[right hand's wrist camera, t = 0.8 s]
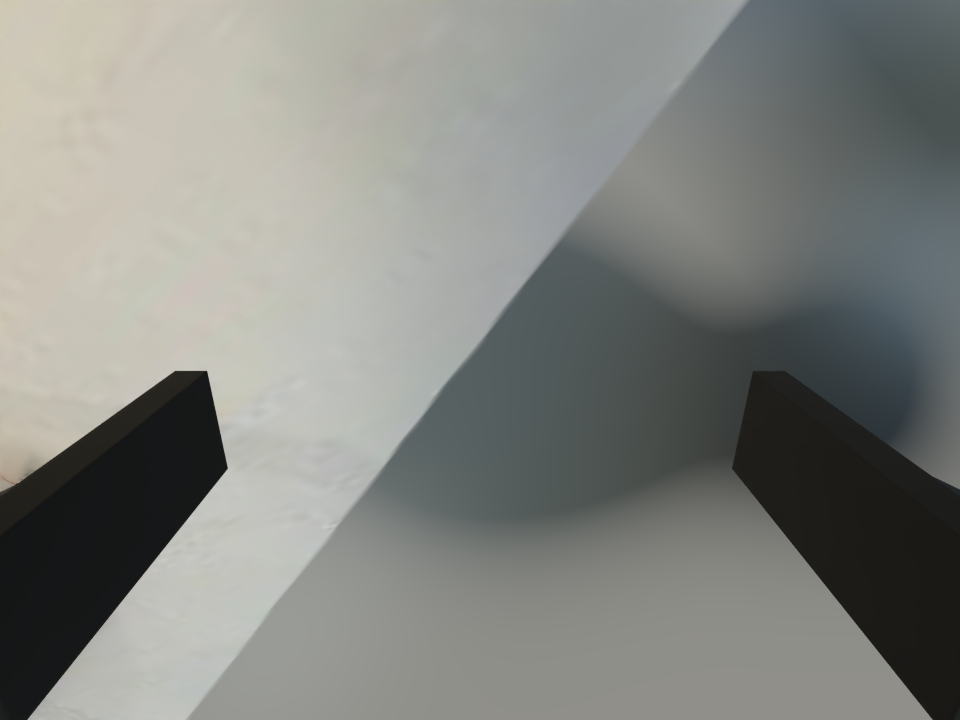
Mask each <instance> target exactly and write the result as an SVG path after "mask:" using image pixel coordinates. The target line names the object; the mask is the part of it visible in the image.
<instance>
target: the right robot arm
mask: <svg viewBox="0 0 960 720" xmlns="http://www.w3.org/2000/svg"><path fill="white" fill-rule="evenodd" d="M227 469H228V467H227V462H226V458H225V453H224V448H223V444H222V439H221V434H220V430H219V425H218V420H217V415H216V411H215V406H214V401H213V397H212V392H211V387H210V382H209V378H208V373H207V371H175V372H173V373H172V374H170V375H169V376H168V377H166V378H165V379H163V380H162V381H161V382H159V383H158V384H156V385H155V386H154V387H152V388H151V389H149V390H148V391H147V392H145V393H144V394H142V395H141V396H140V397H138V398H137V399H135V400H134V401H133V402H131V403H130V404H128V405H127V406H126V407H124V408H123V409H121V410H120V411H119V412H117V413H116V414H114V415H113V416H112V417H110V418H109V419H107V420H106V421H105V422H103V423H102V424H101V425H99V426H98V427H96V428H95V429H94V430H92V431H91V432H89V433H88V434H87V435H85V436H84V437H82V438H81V439H80V440H78V441H77V442H75V443H74V444H73V445H71V446H70V447H68V448H67V449H66V450H64V451H63V452H61V453H60V454H59V455H57V456H56V457H54V458H53V459H52V460H50V461H49V462H47V463H46V464H45V465H43V466H42V467H40V468H39V469H38V470H36V471H35V472H33V473H32V474H31V475H29V476H28V477H26V478H25V479H24V480H22V481H21V482H19V483H18V484H16V485H14V486H11V487H9V488H7V489H5V490H3V491H1V492H0V720H27V719H28V718H29V717H30V716H31V714H32V713H33V712H34V711H35V709H36V708H37V707H38V706H39V704H40V703H41V702H42V701H43V699H44V698H45V697H46V696H47V694H48V693H49V692H50V691H51V689H52V688H53V687H54V686H55V684H56V683H57V682H58V681H59V679H60V678H61V677H62V675H63V674H64V673H65V672H66V670H67V669H68V668H69V667H70V665H71V664H72V663H73V662H74V660H75V659H76V658H77V657H78V655H79V654H80V653H81V652H82V650H83V649H84V648H85V647H86V645H87V644H88V643H89V642H90V640H91V639H92V638H93V637H94V635H95V634H96V633H97V632H98V630H99V629H100V628H101V627H102V625H103V624H104V623H105V622H106V620H107V619H108V618H109V617H110V615H111V614H112V613H113V612H114V610H115V609H116V608H117V607H118V605H119V604H120V603H121V602H122V600H123V599H124V598H125V597H126V595H127V594H128V593H129V592H130V590H131V589H132V588H133V587H134V585H135V584H136V583H137V582H138V580H139V579H140V578H141V577H142V575H143V574H144V573H145V572H146V570H147V569H148V568H149V567H150V565H151V564H152V563H153V562H154V560H155V559H156V558H157V557H158V555H159V554H160V553H161V552H162V550H163V549H164V548H165V547H166V545H167V544H168V543H169V542H170V540H171V539H172V538H173V537H174V535H175V534H176V533H177V532H178V530H179V529H180V528H181V527H182V525H183V524H184V523H185V522H186V520H187V519H188V518H189V517H190V515H191V514H192V513H193V512H194V510H195V509H196V508H197V506H198V505H199V504H200V503H201V501H202V500H203V499H204V498H205V496H206V495H207V494H208V493H209V491H210V490H211V489H212V488H213V486H214V485H215V484H216V483H217V481H218V480H219V479H220V478H221V476H222V475H223V474H224V473H225V471H226V470H227ZM732 469H733V470H734V471H735V473H736V474H737V475H738V476H739V478H740V479H741V480H742V481H743V483H744V484H745V485H746V486H747V488H748V489H749V490H750V491H751V493H752V494H753V495H754V496H755V498H756V499H757V500H758V501H759V503H760V504H761V505H762V506H763V508H764V509H765V510H766V511H767V513H768V514H769V515H770V516H771V518H772V519H773V520H774V522H775V523H776V524H777V525H778V527H779V528H780V529H781V530H782V532H783V533H784V534H785V535H786V537H787V538H788V539H789V540H790V542H791V543H792V544H793V545H794V547H795V548H796V549H797V550H798V552H799V553H800V554H801V555H802V557H803V558H804V559H805V560H806V562H807V563H808V564H809V565H810V567H811V568H812V569H813V570H814V572H815V573H816V574H817V575H818V577H819V578H820V579H821V580H822V582H823V583H824V584H825V585H826V587H827V588H828V589H829V590H830V592H831V593H832V594H833V595H834V597H835V598H836V599H837V600H838V602H839V603H840V604H841V605H842V607H843V608H844V609H845V610H846V612H847V613H848V614H849V615H850V617H851V618H852V619H853V620H854V622H855V623H856V624H857V625H858V627H859V628H860V629H861V630H862V632H863V633H864V634H865V635H866V637H867V638H868V639H869V640H870V642H871V643H872V644H873V645H874V647H875V648H876V649H877V650H878V652H879V653H880V654H881V655H882V657H883V658H884V659H885V660H886V662H887V663H888V664H889V665H890V667H891V668H892V669H893V670H894V672H895V673H896V674H897V675H898V677H899V678H900V679H901V681H902V682H903V683H904V684H905V685H906V687H907V688H908V689H909V691H910V692H911V693H912V694H913V696H914V697H915V698H916V699H917V700H918V702H919V703H920V704H921V705H922V707H923V708H924V709H925V711H926V712H927V713H928V714H929V716H930V717H931V718H932V719H933V720H960V489H957V488H955V487H953V486H951V485H949V484H947V483H945V482H943V481H941V480H939V479H936V478H934V477H932V476H931V475H929V474H928V473H927V472H925V471H924V470H922V469H921V468H920V467H918V466H917V465H915V464H914V463H913V462H911V461H910V460H908V459H907V458H906V457H904V456H903V455H901V454H900V453H899V452H897V451H896V450H894V449H893V448H892V447H890V446H889V445H887V444H886V443H885V442H883V441H882V440H880V439H879V438H878V437H876V436H875V435H873V434H872V433H871V432H869V431H868V430H866V429H865V428H864V427H862V426H861V425H859V424H858V423H857V422H855V421H854V420H852V419H851V418H850V417H848V416H847V415H846V414H844V413H843V412H841V411H840V410H839V409H837V408H836V407H834V406H833V405H832V404H830V403H829V402H827V401H826V400H825V399H823V398H822V397H820V396H819V395H818V394H816V393H815V392H813V391H812V390H811V389H809V388H808V387H806V386H805V385H804V384H802V383H801V382H799V381H798V380H797V379H795V378H794V377H792V376H791V375H790V374H788V373H787V372H785V371H753V373H752V378H751V383H750V387H749V392H748V397H747V401H746V406H745V411H744V416H743V420H742V425H741V429H740V434H739V439H738V444H737V448H736V453H735V458H734V462H733V467H732Z"/></svg>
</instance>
